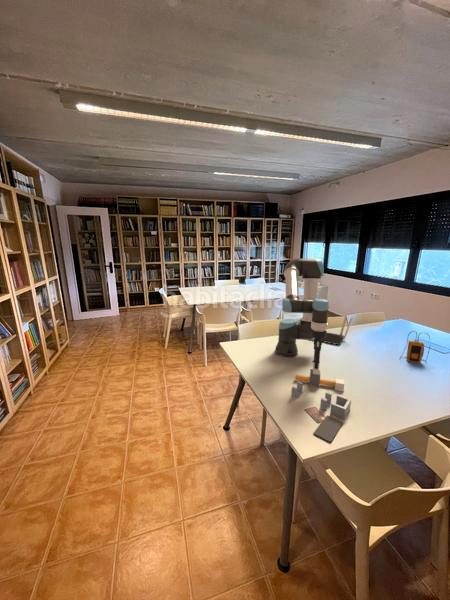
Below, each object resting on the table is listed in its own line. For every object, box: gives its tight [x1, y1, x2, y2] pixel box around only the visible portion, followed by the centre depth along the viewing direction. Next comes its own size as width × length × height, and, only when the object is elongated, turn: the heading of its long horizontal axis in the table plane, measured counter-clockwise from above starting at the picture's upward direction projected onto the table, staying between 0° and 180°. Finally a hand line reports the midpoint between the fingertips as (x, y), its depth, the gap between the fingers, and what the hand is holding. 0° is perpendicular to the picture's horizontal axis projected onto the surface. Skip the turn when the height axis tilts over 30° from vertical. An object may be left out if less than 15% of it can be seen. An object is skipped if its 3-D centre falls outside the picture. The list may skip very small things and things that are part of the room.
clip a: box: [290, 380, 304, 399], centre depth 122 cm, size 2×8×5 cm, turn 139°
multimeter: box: [399, 330, 431, 364], centre depth 158 cm, size 15×10×20 cm
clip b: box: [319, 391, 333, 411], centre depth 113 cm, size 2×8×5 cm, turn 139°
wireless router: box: [320, 313, 354, 345], centre depth 195 cm, size 34×23×20 cm
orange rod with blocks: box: [294, 368, 345, 392], centre depth 130 cm, size 24×5×7 cm, turn 69°
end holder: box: [329, 394, 352, 420], centre depth 109 cm, size 6×9×5 cm, turn 139°
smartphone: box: [312, 414, 344, 444], centre depth 99 cm, size 7×1×15 cm
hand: (315, 368), depth 129 cm, fingers open, 13 cm apart
